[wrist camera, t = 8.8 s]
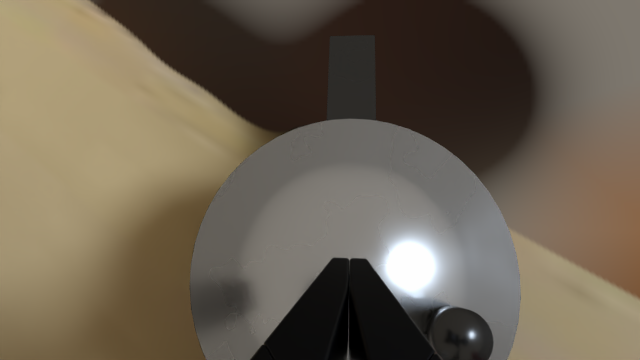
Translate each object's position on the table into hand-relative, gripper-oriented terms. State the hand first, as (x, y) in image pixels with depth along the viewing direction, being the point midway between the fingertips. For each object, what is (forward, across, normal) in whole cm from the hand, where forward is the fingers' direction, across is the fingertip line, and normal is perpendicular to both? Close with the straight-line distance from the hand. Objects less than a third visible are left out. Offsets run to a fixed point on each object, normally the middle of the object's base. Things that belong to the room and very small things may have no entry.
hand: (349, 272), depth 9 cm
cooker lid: (+5, 0, +4) cm, 6 cm away
